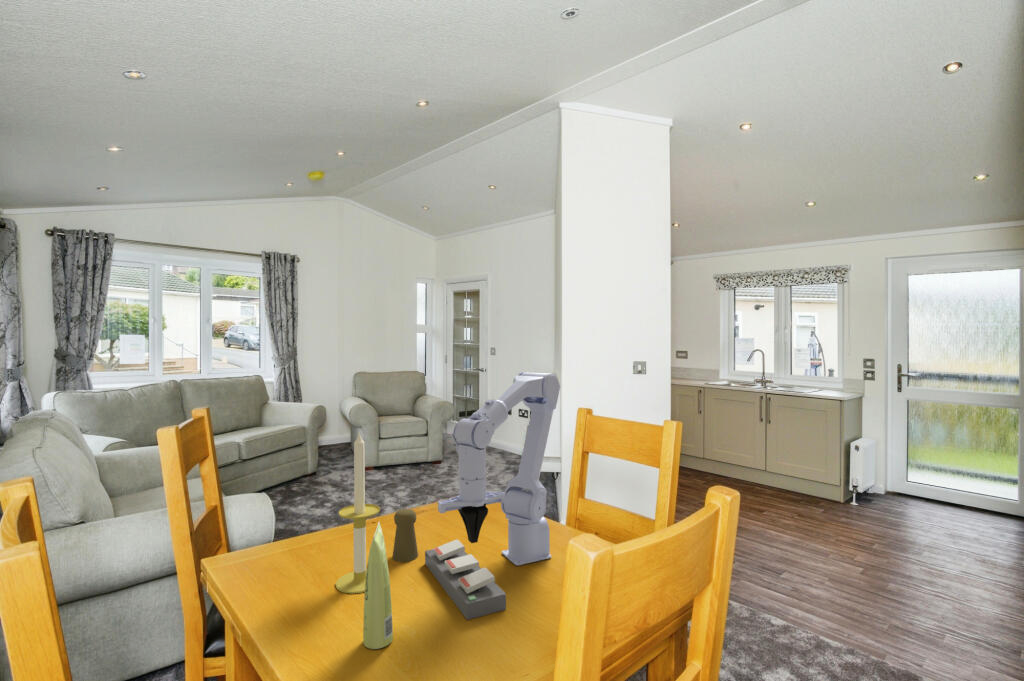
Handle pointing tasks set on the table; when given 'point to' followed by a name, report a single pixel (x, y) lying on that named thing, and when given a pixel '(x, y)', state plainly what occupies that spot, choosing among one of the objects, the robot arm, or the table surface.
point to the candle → (357, 524)
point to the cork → (405, 536)
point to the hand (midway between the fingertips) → (472, 541)
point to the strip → (471, 603)
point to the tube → (377, 596)
